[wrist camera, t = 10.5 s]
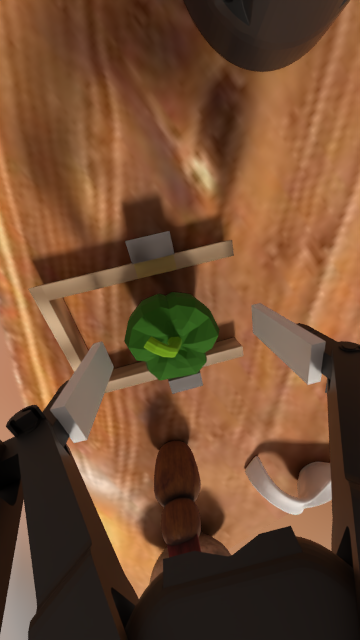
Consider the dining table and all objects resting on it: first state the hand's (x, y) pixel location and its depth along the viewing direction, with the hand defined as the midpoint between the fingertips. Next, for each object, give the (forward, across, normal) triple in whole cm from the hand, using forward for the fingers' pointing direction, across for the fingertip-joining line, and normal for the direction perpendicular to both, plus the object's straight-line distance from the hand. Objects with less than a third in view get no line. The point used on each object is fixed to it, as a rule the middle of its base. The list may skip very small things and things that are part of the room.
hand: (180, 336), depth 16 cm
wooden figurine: (+7, -6, -25) cm, 26 cm away
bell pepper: (+7, -1, 0) cm, 8 cm away
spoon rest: (+7, +17, -42) cm, 46 cm away
